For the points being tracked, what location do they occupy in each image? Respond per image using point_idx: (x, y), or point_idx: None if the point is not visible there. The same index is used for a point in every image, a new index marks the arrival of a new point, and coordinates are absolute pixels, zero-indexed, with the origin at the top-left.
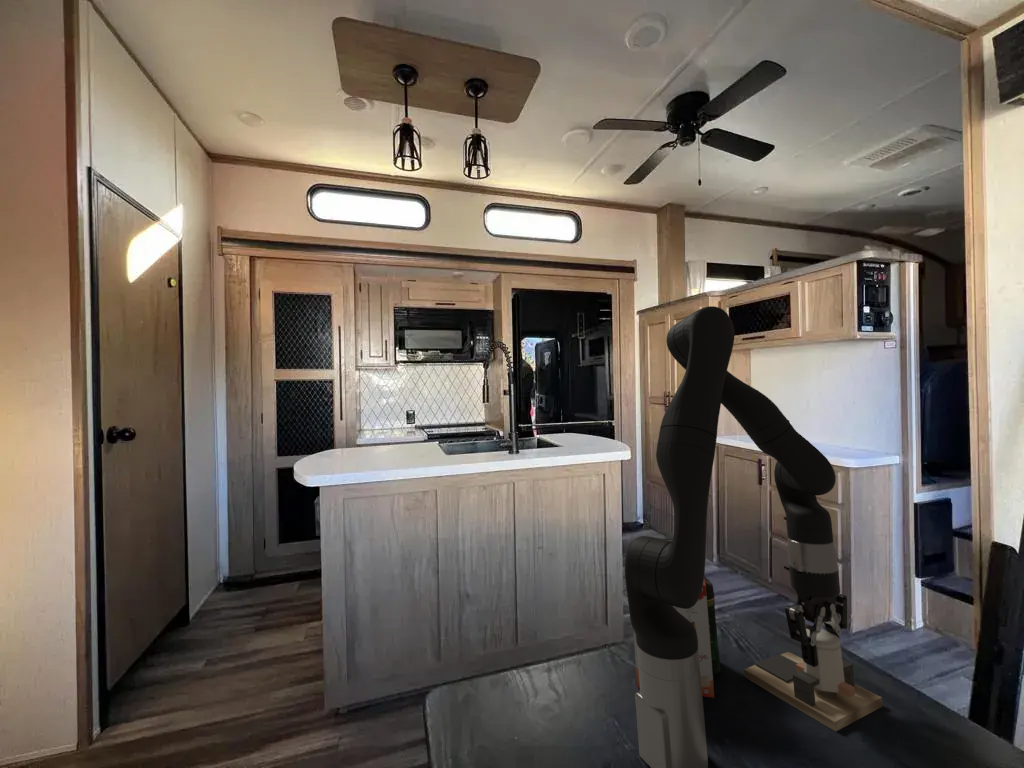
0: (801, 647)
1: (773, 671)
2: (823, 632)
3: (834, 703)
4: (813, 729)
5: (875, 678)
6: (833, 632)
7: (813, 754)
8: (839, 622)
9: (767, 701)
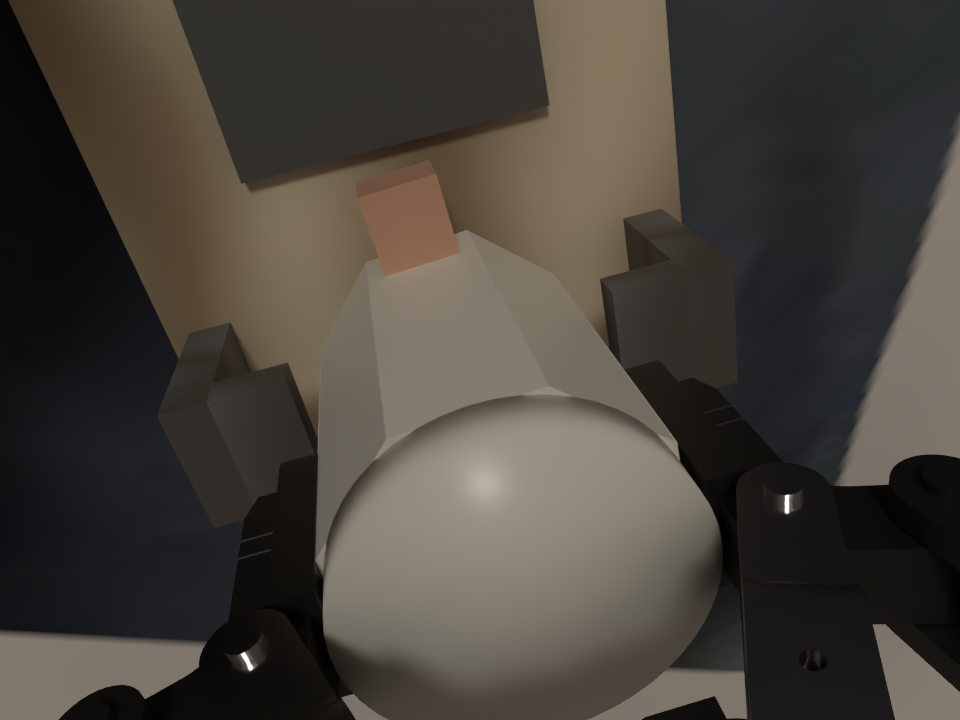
0: (234, 595)
1: (212, 24)
2: (650, 546)
3: None
4: (166, 486)
5: (914, 185)
6: (736, 584)
7: (47, 613)
8: (920, 619)
9: (19, 225)
